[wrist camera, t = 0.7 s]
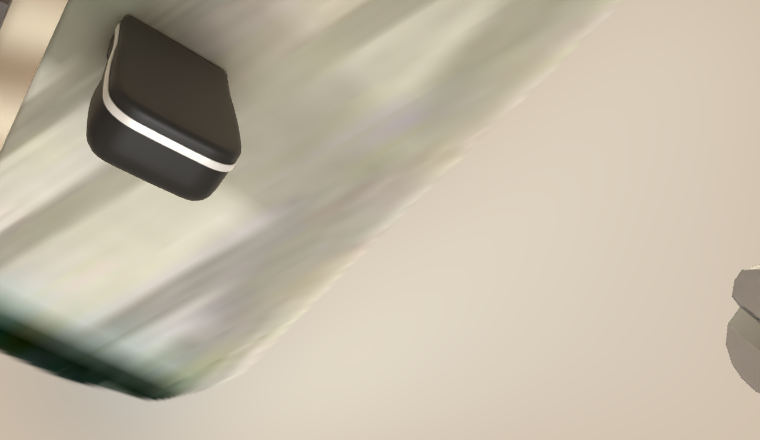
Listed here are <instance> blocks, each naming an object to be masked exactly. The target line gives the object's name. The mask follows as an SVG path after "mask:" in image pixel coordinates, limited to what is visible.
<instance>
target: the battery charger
mask: <svg viewBox="0 0 760 440" xmlns="http://www.w3.org/2000/svg"><path fill="white" fill-rule="evenodd" d="M107 59H108V62H107V64H106V67H105V70H104V73H103V77H102V80H101V81H100V83H99V85H98V86H97V88H96V90H95V92H94V94H93V96H92V98H91V102H90V106H89V111H88V119H87V133H86V136H87V141H88V144H89V146H90V148H91V149H92V151H93V152H94V153H95V154H96V155H97V156H98V157H99V158H101V159H102V160H104V161H105V162H107V163H109V164H111V165H113V166H115V167H117V168H119V169H121V170H123V171H125V172H127V173H130V174H132V175H134V176H136V177H138V178H140V179H142V180H144V181H146V182H148V183H151V184H153V185H155V186H157V187H159V188H162V189H164V190H166V191H168V192H170V193H173V194H175V195H177V196H179V197H182V198H184V199H187V200H191V201H198V200H203V199H205V198H207V197H209V196H210V195H211V194H212V193H213V192H214V191H215V190H216V188H217V187H218V186H219V184H220V183H221V182H222V180H223V179H224V177H225V176H226V175H227V173H228V172H229V171H231V170H232V169H233V168H234V166H235V165H236V164H237V161H238V158H239V156H240V153H241V140H240V133H239V127H238V123H237V118H236V114H235V110H234V107H233V103H232V100H231V96H230V92H229V86H228V80H227V74H226V73H225V72H224V71H223V70H221V69H219V68H218V67H216V66H214V65H213V64H211V63H209V62H208V61H206V60H204V59H203V58H201V57H199V56H198V55H196V54H194V53H192V52H191V51H189V50H187V49H186V48H184V47H182V46H181V45H179V44H177V43H175V42H174V41H172V40H170V39H169V38H167V37H165V36H163V35H162V34H160V33H158V32H156V31H155V30H153V29H151V28H150V27H148V26H146V25H144V24H143V23H141V22H139V21H137V20H135V19H134V18H132V17H125V18H124V19H123V20H122V22H121V23H119V24H118V25H117V27H116V29H115V34H114V35H113V37H112V39H111V41H110V45H109V48H108V53H107Z"/></svg>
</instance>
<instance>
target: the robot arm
mask: <svg viewBox="0 0 760 440" xmlns="http://www.w3.org/2000/svg"><path fill="white" fill-rule="evenodd" d="M732 297H733V298H734V300H735V301H736V302H737V304H738V305H739V306H740V308H739V309H738V311H737V312H736V313H735V315H734V317H733V318H732V319H731V320H730V322H729V323H728V329H727V338H726V346H727V349H728V352H729V356H730V359H731V362H732V364H733V366H734V368H735V369H736V370H737V372H738V373H739V375H740V376H741V378H742V379H743V380H744V381H745V382H746V383H747V384H749V386H750V387H751V388H753V389H754V390H755V391H756V392H758V393H760V265H756V266H753V267H750V268H747V269H743V270H741V272H740V273H739V275H738V276H737V278H736V279H735V281H734V287H733V294H732Z"/></svg>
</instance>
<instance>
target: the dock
mask: <svg viewBox="0 0 760 440" xmlns="http://www.w3.org/2000/svg"><path fill="white" fill-rule="evenodd" d="M67 1H68V0H0V151H1V149H2V146H3V144H4V142H5V140H6V137H7V135H8V133H9V131H10V128H11V126H12V124H13V122H14V120H15V117H16V115H17V113H18V111H19V108H20V106H21V104H22V102H23V100H24V97H25V95H26V93H27V91H28V88H29V86H30V84H31V82H32V79H33V77H34V75H35V73H36V71H37V68H38V66H39V64H40V62H41V59H42V57H43V55H44V53H45V50H46V48H47V46H48V44H49V42H50V39H51V37H52V35H53V33H54V30H55V28H56V26H57V24H58V21H59V19H60V17H61V15H62V13H63V10H64V8H65V6H66V4H67Z"/></svg>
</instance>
